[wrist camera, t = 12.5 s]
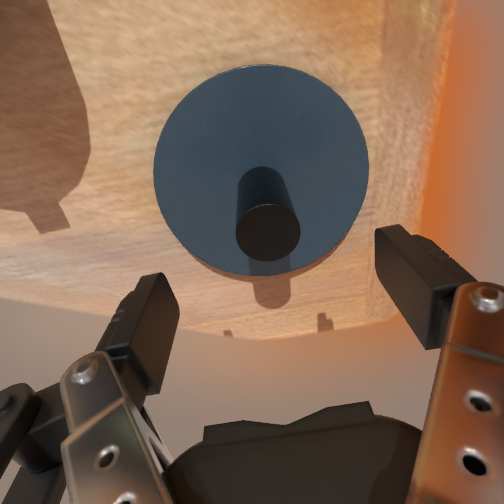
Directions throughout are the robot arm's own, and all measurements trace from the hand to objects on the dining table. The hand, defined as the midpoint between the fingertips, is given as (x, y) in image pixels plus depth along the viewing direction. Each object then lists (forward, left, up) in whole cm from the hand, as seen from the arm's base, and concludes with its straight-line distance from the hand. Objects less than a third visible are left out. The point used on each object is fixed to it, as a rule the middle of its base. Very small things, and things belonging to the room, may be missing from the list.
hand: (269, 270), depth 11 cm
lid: (0, 0, -9) cm, 9 cm away
